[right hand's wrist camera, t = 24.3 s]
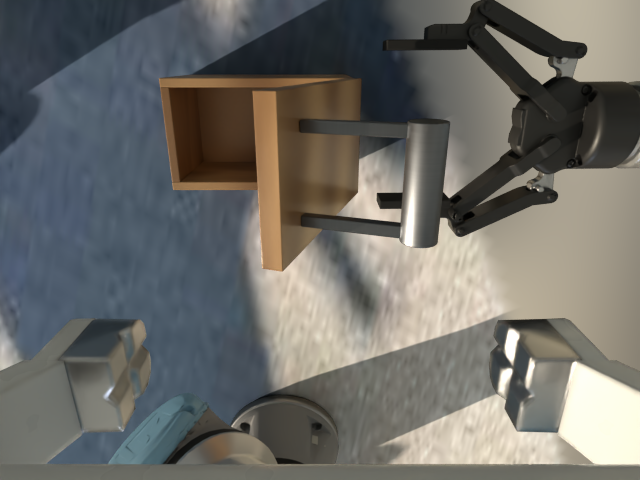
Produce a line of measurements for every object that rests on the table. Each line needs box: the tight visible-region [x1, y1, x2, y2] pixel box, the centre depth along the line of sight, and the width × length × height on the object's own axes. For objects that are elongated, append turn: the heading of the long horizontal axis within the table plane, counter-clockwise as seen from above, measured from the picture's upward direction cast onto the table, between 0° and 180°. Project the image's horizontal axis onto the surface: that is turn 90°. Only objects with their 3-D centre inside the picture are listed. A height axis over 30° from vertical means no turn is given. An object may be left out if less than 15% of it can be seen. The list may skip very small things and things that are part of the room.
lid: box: [253, 78, 450, 271], centre depth 29 cm, size 16×9×9 cm
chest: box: [159, 75, 352, 190], centre depth 42 cm, size 16×9×9 cm, turn 90°
